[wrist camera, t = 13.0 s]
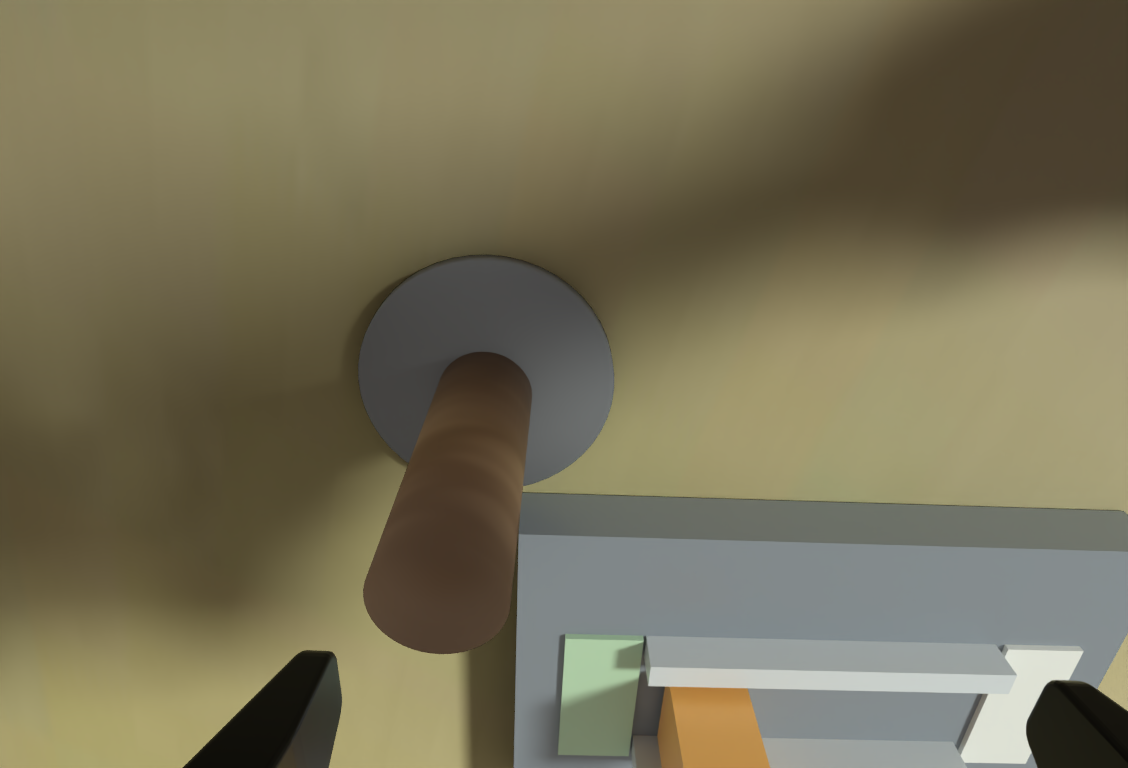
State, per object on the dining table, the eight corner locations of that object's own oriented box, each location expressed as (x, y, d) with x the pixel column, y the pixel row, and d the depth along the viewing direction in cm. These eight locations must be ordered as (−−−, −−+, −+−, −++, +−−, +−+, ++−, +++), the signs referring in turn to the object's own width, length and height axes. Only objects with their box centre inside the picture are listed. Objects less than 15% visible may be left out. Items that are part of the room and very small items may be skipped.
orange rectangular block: (743, 673, 23) (778, 796, 19) (728, 737, 24) (759, 862, 21) (667, 671, 23) (688, 794, 19) (657, 735, 24) (675, 861, 20)
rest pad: (622, 260, 19) (624, 267, 18) (603, 481, 22) (604, 493, 22) (352, 249, 19) (346, 256, 18) (372, 474, 22) (368, 485, 21)
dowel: (533, 353, 19) (511, 544, 12) (530, 437, 21) (509, 656, 13) (436, 349, 19) (357, 538, 12) (439, 433, 21) (368, 651, 13)
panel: (1123, 510, 23) (1204, 581, 20) (993, 775, 29) (1041, 859, 26) (521, 492, 22) (516, 563, 19) (515, 766, 28) (510, 851, 25)
